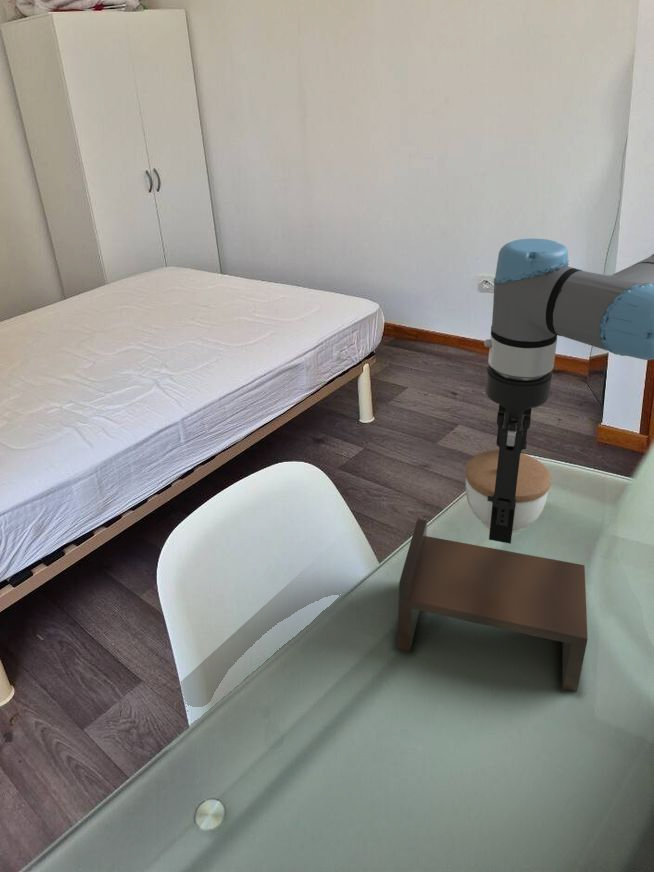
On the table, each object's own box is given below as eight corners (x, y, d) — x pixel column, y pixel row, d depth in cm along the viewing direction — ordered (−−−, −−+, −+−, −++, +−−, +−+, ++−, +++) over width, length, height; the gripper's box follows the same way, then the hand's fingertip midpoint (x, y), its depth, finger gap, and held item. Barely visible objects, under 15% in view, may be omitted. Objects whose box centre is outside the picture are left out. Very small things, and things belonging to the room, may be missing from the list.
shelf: (575, 616, 103) (587, 548, 97) (576, 693, 91) (591, 621, 85) (414, 583, 111) (417, 518, 105) (397, 649, 99) (399, 581, 93)
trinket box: (560, 537, 90) (569, 478, 86) (483, 551, 88) (489, 491, 84) (519, 490, 99) (526, 434, 95) (449, 501, 98) (453, 445, 94)
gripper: (495, 328, 94) (483, 462, 104) (477, 409, 75) (464, 564, 85) (554, 333, 92) (536, 470, 102) (550, 418, 73) (528, 576, 82)
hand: (503, 513), depth 93 cm, fingers closed on trinket box, 11 cm apart
